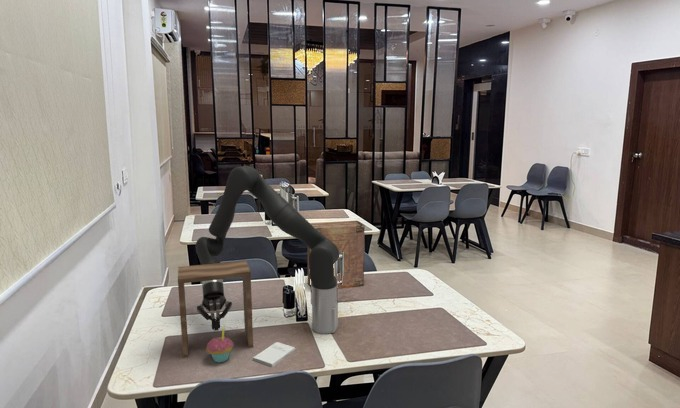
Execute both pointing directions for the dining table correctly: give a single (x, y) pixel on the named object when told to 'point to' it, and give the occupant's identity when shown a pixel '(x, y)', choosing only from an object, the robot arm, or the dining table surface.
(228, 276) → the wooden arch
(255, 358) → the external hard drive
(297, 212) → the robot arm
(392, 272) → the dining table surface
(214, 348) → the cupcake
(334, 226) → the book
